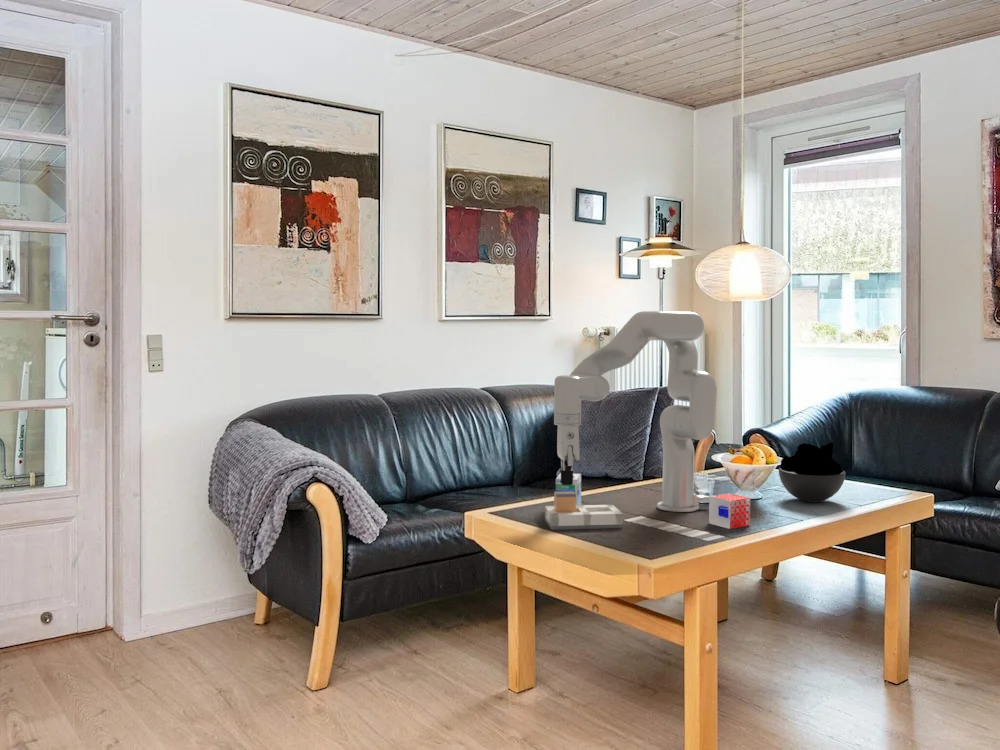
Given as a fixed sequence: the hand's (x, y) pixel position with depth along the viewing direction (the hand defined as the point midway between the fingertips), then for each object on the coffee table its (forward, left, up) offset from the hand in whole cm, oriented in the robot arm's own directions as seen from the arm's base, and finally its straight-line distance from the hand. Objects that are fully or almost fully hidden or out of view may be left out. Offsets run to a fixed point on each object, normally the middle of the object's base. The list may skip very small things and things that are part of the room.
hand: (566, 484), depth 246 cm
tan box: (0, 0, -11) cm, 11 cm away
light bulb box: (-4, -17, -12) cm, 21 cm away
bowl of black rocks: (-83, -22, -12) cm, 86 cm away
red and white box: (-46, +5, -12) cm, 47 cm away
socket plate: (-5, 0, -12) cm, 12 cm away
